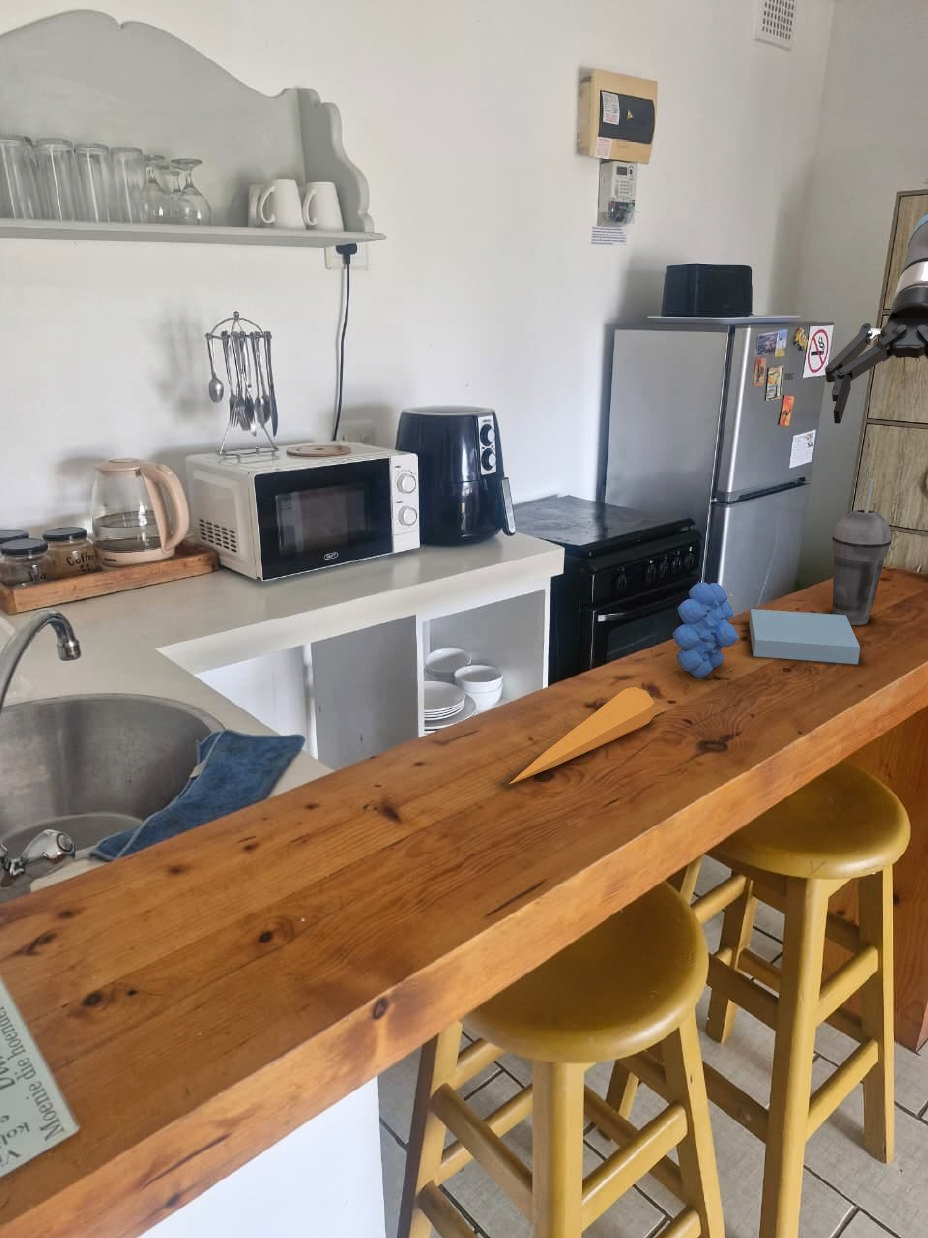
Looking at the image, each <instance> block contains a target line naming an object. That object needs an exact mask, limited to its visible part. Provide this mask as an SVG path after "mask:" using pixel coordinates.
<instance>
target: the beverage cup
mask: <svg viewBox="0 0 928 1238" xmlns="http://www.w3.org/2000/svg"><path fill="white" fill-rule="evenodd" d="M874 479H875V478H874V477H870V478H869V480H868V486H867V492H866V498H865V503H864V509H856V510H853V511H851V512H849V513H847V514H845V515H844V516H843V517H842V518H841V519H840V520H839V522H838V523H837V525H836V526H835V530H834V533H833V535H832V537H831V540H832V550H833V551H832V552H833V555H834V556H833V579H832V580H833V581H832V582H833V583H832V606H831V607H832V608H831V609H832V614H833V615H846V617H847V619H848V621H849V623H850V626H851V625H852V626H861V625H866V624H867V623H869V620H870V618H871V617H870V616H871V614H872V611H873V606H874V603H875V599H876V594H877V590H878V586H879V582H880V578H881V574H882V570H883V566H884V561H885V559H886V558H887V555H888V552H889V550H890V546H891V545H892V539H891V538H892V537H891V536H892V535H891V529H890V526H889V523H888V522H887V520H886V519H885V517H884V516H883V515H881V514H880V513H878V512H876V511H874V510H871V509H870V506H871V505H870V504H871V498H872V491H873V485H874Z"/></svg>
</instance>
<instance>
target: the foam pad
mask: <svg viewBox="0 0 928 1238" xmlns="http://www.w3.org/2000/svg"><path fill="white" fill-rule="evenodd" d="M748 623H749V624H748V625H749V632H750V640H751V648H752V654H753V655H752V656H753V657H758V658H759V657H760V658H770V659H771V658H774V659H785V660H787V659H788V660H799V661H810V662H823V663H836V664H848V665H849V664H850V665H858V664H859V659H860V653H861V646H860V643H859V641H858V639H857V637H856V634H855V633H854V629H853V628H852V626H851V625H850V623H849V621H848V619H847V617H846V615H833V613H831V614H829V613H818V612H817V613H816V612H801V611H800V612H799V611H785V610H769V609H755V608H754V609H753V608H751V609H750V614H749V622H748Z"/></svg>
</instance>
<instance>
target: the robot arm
mask: <svg viewBox="0 0 928 1238" xmlns="http://www.w3.org/2000/svg"><path fill="white" fill-rule="evenodd" d="M878 339H879V340H878ZM875 340H878V341H876V343H875V345H874V346H872V347H870V348H869V349H868V350H866V349H867V347H868V345H869V346H870V345H872V344H873V342H874V341H875ZM865 350H866V351H865ZM923 356H924V358H926V359H927V360H928V213H927V214H925V215H924V216H923V217H922V218H920V220H919V221H918V222H917V224H916V225H915V227H914V229H913V232H912V234H911V236H910V238H909V242H908V243H907V251H906V254H905V258H904V262H903V265H902V269H901V273H900V277H899V280H898V282H897V286H896V289H895V293H894V296H893V301H892V303H891V307H890V310H889V314H888V317H887V321H886V323H885V325H884V326H883V327H882V328H877V327H872V325H871V324H870V323H869V322H865V323H863V324H862V325H861V327H860V329H859V332H858V333H857V335H856V336H855V337H854V338H853V339H852V340H851V341H850V342H849V343H848V344H846V346H845V347H844V348H842V350H841V351H840V352H839V353H837V355H836V356H834V358H833V359H832V360H831V361H829V362H828V364H826V366H825V367H824V375H825V382H827V383H833V387H832V390H831V399H832V402H835V405H834V409H833V419H834V424H840V425H841V422H842V418H843V416H844V413H845V408H846V406H847V402H848V398H849V395H850V393H851V389H852V387H851V382H852V381H854V380H855V379H857V378H859V377H860V376H862V375H863V374H865V373H866V372H867V371H869V370H871V369H872V368H873V367H875V366H876V365H878V364H880V363H881V362H883V363H884V362H886V361H888V360H889V359H891V358H892V357H895V359H903V358H912V359H920V357H923Z"/></svg>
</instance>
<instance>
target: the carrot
mask: <svg viewBox="0 0 928 1238" xmlns="http://www.w3.org/2000/svg"><path fill="white" fill-rule="evenodd" d="M655 716H656V703H655V701H654V699H653V698H652V697H651V695H650V694H649V692H648V691H647V690H646V689H643V688H639V687H637V686H632V687H628V688H627V687H626V688H625V689H623V690H621V691H620V692H619V693H618V694H616V695H615V696H614V697H613V698H612V699H610V700H608V702H607V703H605V704H603V705H602V706H601V707H599V709H597V710H596V711H594V712H593V713H592V714H591V715H590V716H588V717H587V718H586V719H585V720H583V721H582V722H581V723H580V724H578V725H577V726H576V727H574V728H573V729H572V730H571V731H570V732H568V733H567V734H566V735H564V736H563V737H562V738H561V739H559V740H558V741H557V742H555V743H554V744H553V745H552V746H550V747H549V748H548V749H546V750H545V751H544V752H542V754H540V755H539V757H537V758H536V759H535V760H534V761H533V762H532V763H530V764H529V765H528V766H527V767H526V768H525V769H524V770H523V771H522V772H520V773H519V774H518V775H517V776H516V777H515V778H514V779H513V780H512V781H510V782H509V785H510V784H513V783H517V782H519V781H521V780H525V779H527V778H530V777H532V776H534V775H537V774H540V773H542V772H544V771H547V770H550V769H552V768H555V767H557V766H559V765H562V764H564V763H566V762H569V761H570V760H573V759H575V758H577V757H580V756H582V755H584V754H586V753H588V752H590V751H593V750H595V749H598V748H600V747H602V746H604V745H606V744H608V743H611V742H613V741H615V740H617V739H620V738H622V737H624V736H626V735H628V734H631V733H634V732H636V731H638V730H640V729H642V728H643V727H645V726H646V725H648V724H649V723H650V722H651V721H652V720H653V718H654V717H655Z"/></svg>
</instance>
